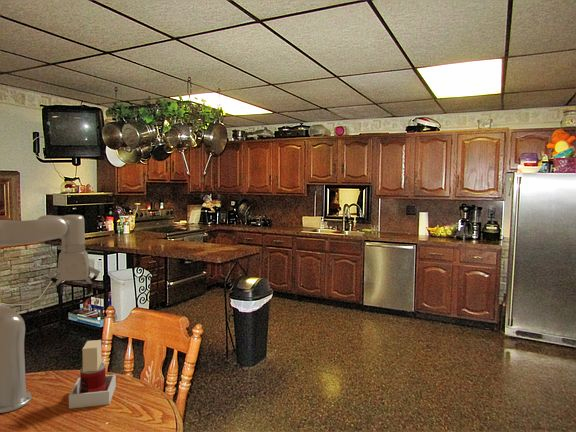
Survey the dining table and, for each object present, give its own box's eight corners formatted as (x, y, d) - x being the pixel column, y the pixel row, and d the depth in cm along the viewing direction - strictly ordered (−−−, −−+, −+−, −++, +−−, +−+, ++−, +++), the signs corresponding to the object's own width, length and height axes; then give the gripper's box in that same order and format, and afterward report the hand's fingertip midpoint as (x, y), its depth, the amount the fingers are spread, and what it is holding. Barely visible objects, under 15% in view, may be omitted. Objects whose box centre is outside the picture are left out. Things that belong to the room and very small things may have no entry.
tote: (69, 408, 133) (68, 395, 133) (79, 389, 145) (78, 377, 145) (109, 404, 136) (109, 391, 136) (115, 386, 148) (115, 374, 148)
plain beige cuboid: (83, 371, 136) (82, 348, 135) (87, 362, 143) (87, 340, 142) (97, 370, 137) (96, 347, 136) (101, 361, 144) (101, 339, 143)
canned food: (110, 391, 144) (109, 362, 143) (97, 403, 136) (96, 372, 135) (89, 390, 145) (89, 360, 144) (76, 402, 137) (75, 371, 136)
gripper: (43, 250, 142) (45, 298, 143) (96, 249, 146) (98, 295, 147) (50, 247, 149) (52, 292, 151) (101, 246, 153) (102, 290, 155)
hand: (74, 294), depth 149 cm, fingers open, 9 cm apart
